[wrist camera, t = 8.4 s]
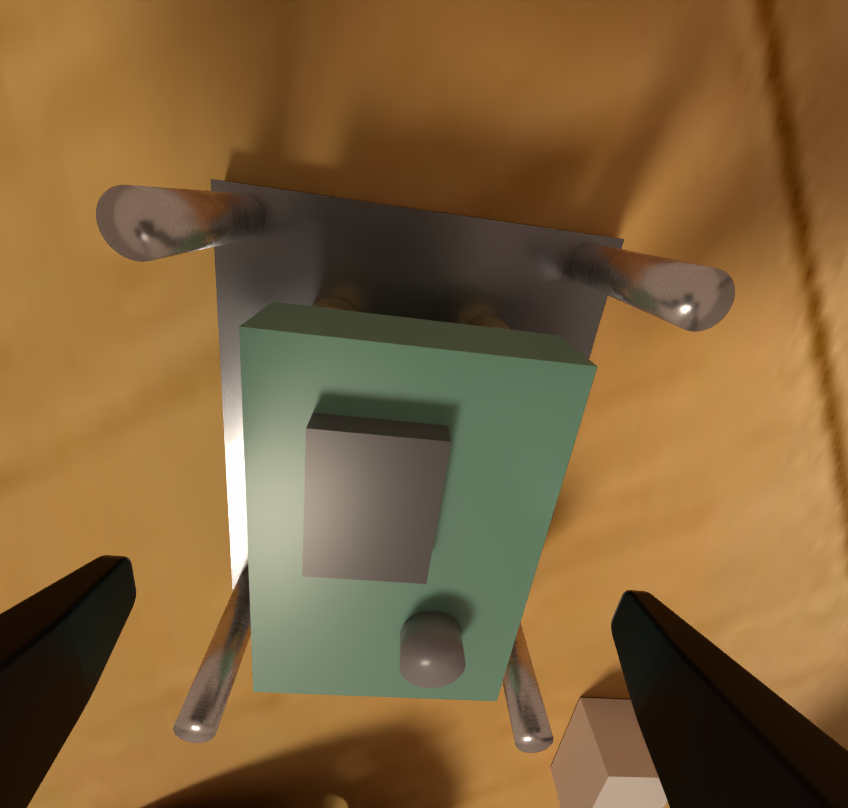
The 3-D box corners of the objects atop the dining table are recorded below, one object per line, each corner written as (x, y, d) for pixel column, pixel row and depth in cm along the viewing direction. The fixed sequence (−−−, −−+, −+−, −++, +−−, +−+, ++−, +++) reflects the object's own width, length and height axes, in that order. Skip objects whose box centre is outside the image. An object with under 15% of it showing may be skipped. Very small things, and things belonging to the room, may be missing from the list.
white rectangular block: (643, 700, 20) (682, 778, 17) (608, 769, 22) (637, 848, 20) (580, 697, 20) (608, 776, 17) (550, 768, 22) (571, 847, 19)
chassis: (610, 237, 12) (763, 261, 7) (509, 595, 17) (553, 758, 12) (223, 180, 11) (72, 161, 6) (240, 578, 16) (167, 746, 11)
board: (560, 335, 10) (617, 384, 7) (483, 632, 13) (502, 735, 11) (272, 301, 9) (220, 340, 6) (274, 621, 13) (242, 727, 10)
